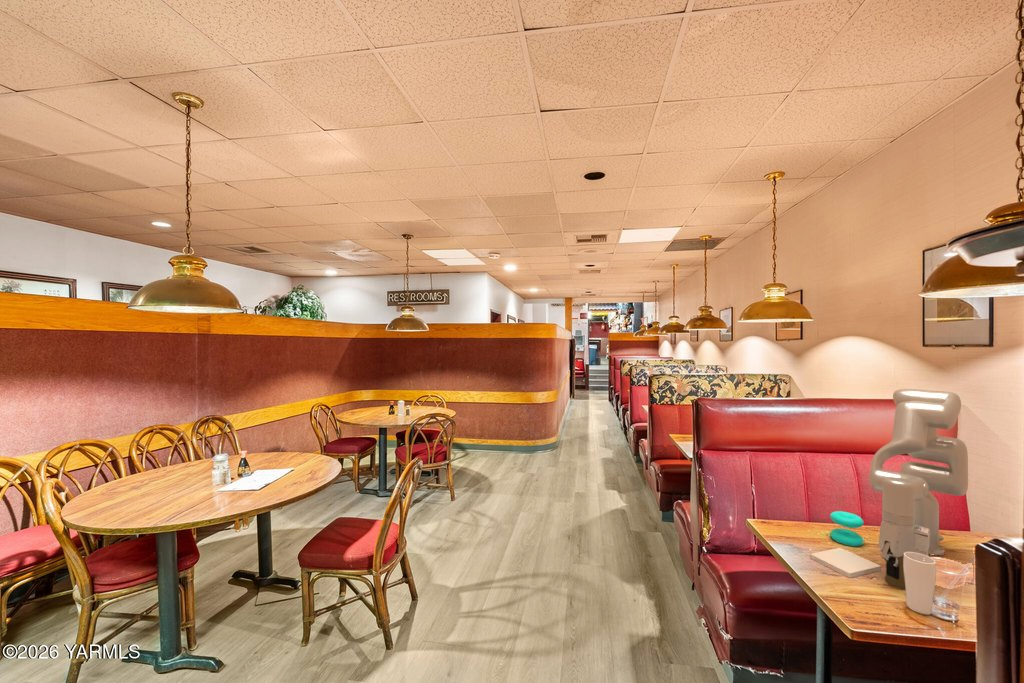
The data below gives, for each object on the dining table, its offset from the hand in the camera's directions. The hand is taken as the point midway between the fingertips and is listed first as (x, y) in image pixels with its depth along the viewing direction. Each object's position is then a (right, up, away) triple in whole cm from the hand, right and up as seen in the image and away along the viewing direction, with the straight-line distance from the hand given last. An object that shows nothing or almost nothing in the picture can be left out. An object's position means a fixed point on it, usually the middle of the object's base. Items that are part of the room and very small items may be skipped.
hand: (897, 575), depth 132 cm
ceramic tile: (-7, -3, +12) cm, 14 cm away
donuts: (+7, -3, +28) cm, 29 cm away
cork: (0, -3, 0) cm, 3 cm away
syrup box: (+13, -3, +7) cm, 16 cm away
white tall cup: (-5, -3, -13) cm, 14 cm away
